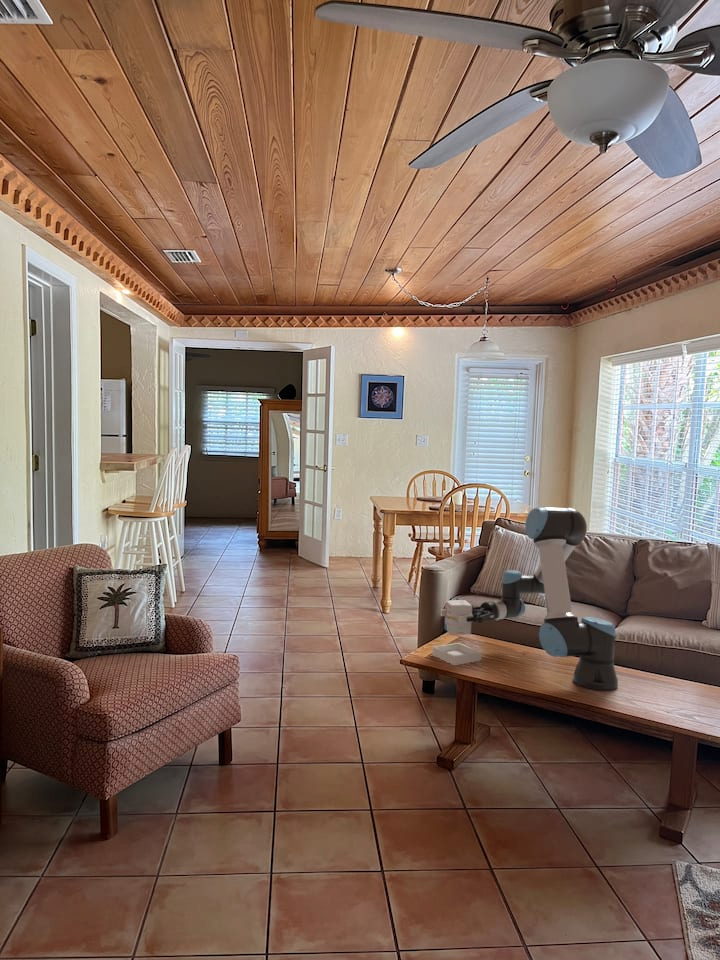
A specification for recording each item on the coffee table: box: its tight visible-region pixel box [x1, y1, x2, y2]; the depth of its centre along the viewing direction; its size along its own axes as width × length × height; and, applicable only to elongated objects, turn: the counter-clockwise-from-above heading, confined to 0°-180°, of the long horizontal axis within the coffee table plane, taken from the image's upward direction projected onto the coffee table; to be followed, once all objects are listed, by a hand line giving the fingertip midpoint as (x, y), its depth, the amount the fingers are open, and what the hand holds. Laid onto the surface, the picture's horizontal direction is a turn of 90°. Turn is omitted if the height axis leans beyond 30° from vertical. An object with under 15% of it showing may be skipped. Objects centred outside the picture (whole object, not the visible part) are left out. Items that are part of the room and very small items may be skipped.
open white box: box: [432, 642, 482, 666], centre depth 259 cm, size 13×14×4 cm
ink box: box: [444, 599, 473, 636], centre depth 259 cm, size 9×8×12 cm
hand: (450, 616), depth 256 cm, fingers closed on ink box, 10 cm apart
